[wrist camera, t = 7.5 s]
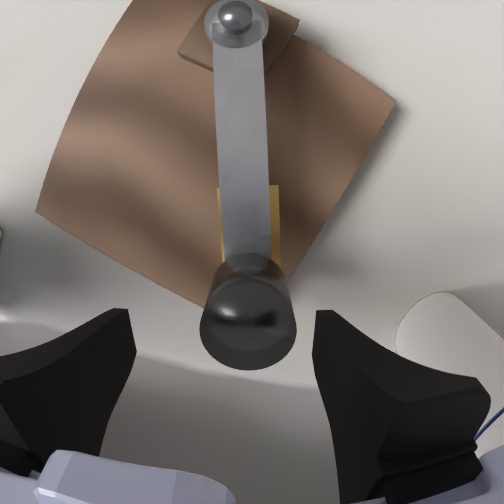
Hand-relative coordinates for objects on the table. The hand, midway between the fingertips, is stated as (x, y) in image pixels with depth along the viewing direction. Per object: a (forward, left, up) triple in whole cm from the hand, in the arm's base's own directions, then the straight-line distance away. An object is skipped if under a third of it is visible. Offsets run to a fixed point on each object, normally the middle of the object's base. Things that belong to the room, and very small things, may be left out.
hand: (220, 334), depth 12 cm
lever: (+6, +2, -7) cm, 9 cm away
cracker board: (+5, +5, -10) cm, 13 cm away
